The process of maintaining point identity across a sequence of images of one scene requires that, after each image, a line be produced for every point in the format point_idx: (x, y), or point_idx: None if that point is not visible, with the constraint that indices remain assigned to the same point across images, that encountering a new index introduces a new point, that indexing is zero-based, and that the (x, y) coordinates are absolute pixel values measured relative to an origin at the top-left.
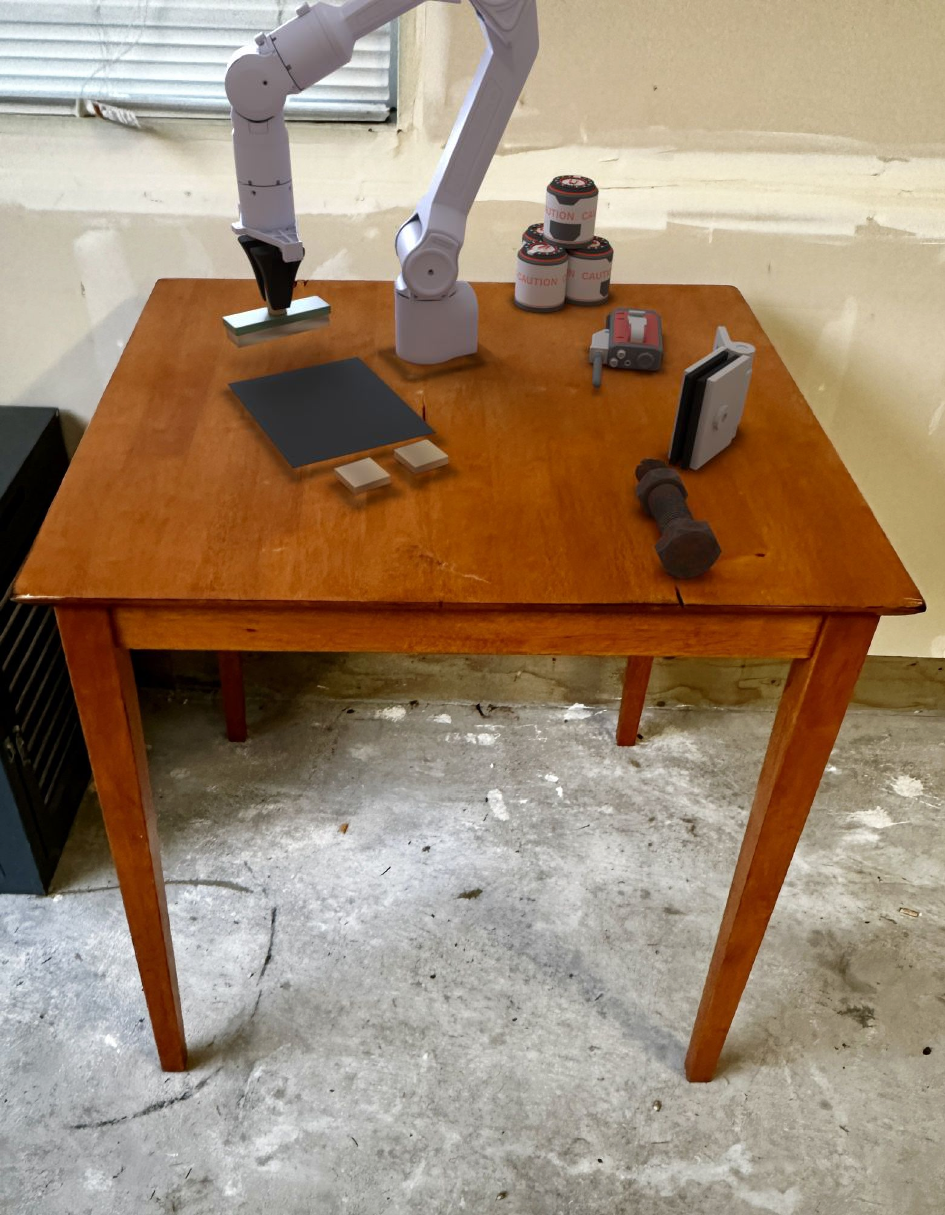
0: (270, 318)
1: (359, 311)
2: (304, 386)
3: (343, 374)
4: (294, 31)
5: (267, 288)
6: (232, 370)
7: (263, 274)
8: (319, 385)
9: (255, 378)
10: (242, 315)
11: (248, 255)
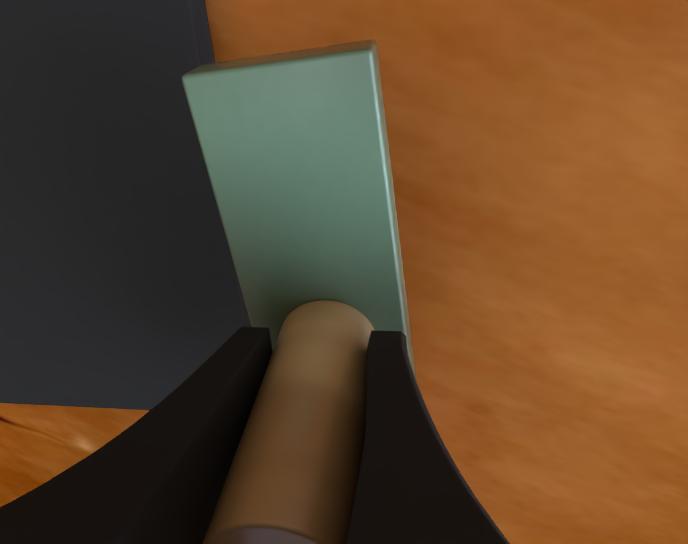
0: (254, 285)
1: (616, 525)
2: (93, 215)
3: (154, 342)
4: None
5: (174, 397)
6: (398, 21)
7: (112, 465)
8: (92, 258)
9: None
10: (344, 173)
11: (393, 529)
